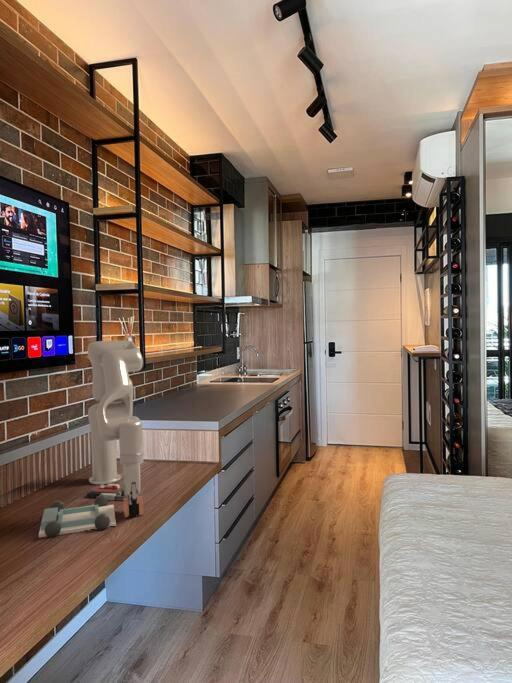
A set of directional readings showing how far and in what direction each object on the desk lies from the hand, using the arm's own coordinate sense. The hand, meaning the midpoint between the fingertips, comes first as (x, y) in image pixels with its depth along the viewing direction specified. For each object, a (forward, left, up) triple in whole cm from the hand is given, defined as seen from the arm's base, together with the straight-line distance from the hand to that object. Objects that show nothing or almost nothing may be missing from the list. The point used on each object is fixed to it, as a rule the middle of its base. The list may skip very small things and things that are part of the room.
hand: (133, 512), depth 164 cm
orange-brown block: (0, 0, -1) cm, 1 cm away
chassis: (0, -17, -1) cm, 17 cm away
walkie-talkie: (-21, -5, -1) cm, 22 cm away
